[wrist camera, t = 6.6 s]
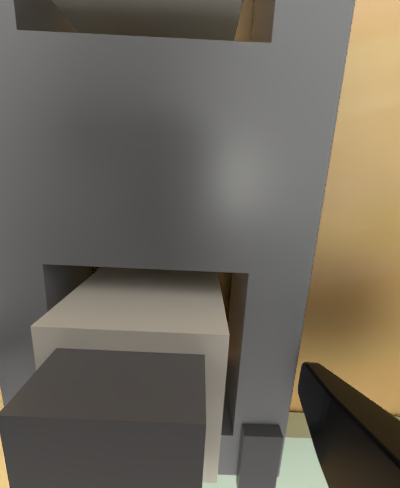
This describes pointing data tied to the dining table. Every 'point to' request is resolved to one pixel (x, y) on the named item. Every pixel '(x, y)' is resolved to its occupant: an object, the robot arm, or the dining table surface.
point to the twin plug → (154, 17)
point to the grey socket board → (173, 184)
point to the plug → (123, 385)
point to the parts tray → (291, 460)
